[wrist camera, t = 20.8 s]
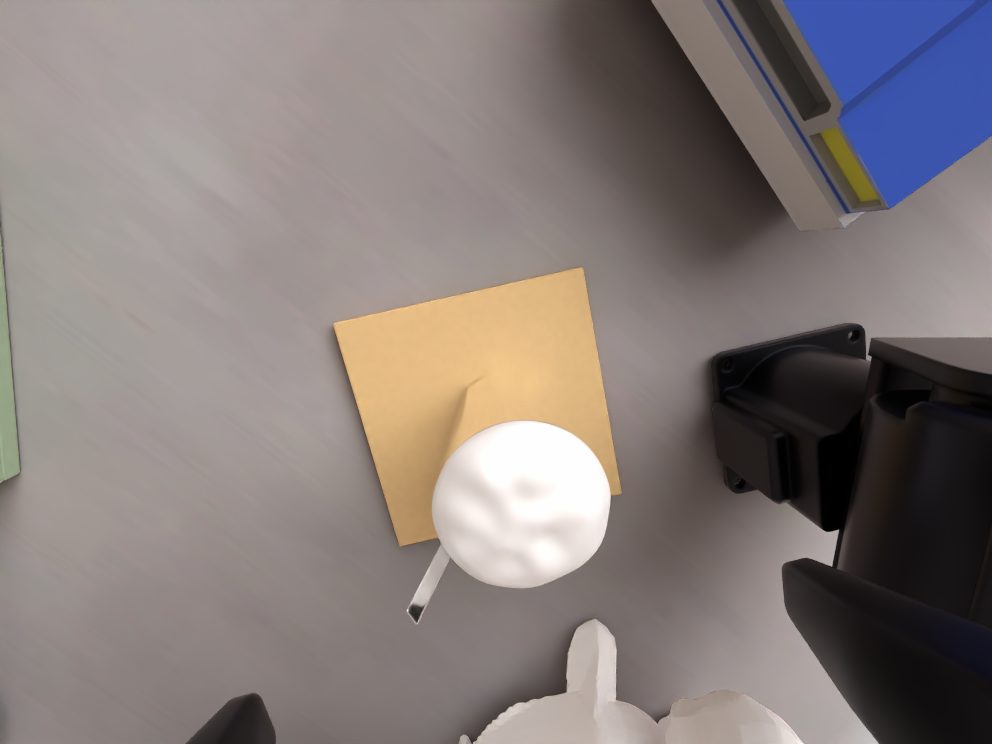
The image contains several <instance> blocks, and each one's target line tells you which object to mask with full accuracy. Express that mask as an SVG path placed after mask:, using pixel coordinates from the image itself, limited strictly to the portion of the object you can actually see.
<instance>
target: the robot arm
mask: <svg viewBox="0 0 992 744" xmlns="http://www.w3.org/2000/svg"><path fill="white" fill-rule="evenodd" d="M851 331H852V336H851V338H850V339H848V334H849V333H850V332H851ZM868 355H869V356H872V359H871V361H867V360H866V342H865V330H864V328H863V327H862V326H861V325H858V324H853V323H844V324H840V325H836V326H831V327H827V328H823V329H818V330H814V331H810V332H806V333H801V334H797V335H793V336H788V337H784V338H780V339H775V340H771V341H767V342H762V343H758V344H754V345H750V346H745V347H741V348H737V349H732V350H728V351H724V352H720V353H718V354H716V355H715V356H714V358H713V360H712V363H711V368H712V377H713V386H714V394H715V403H714V405H713V407H712V415H713V423H714V432H715V440H716V449H717V457H718V459H719V460H720V461H722V464H723V473H724V482H725V485H726V486H727V487H728V488H729V489H730V490H731V491H732V492H734V493H744V492H748V491H753V490H757V489H758V490H759V491H760V492H762V493H763V494H764V495H766V496H767V497H768V498H769V499H771V500H772V501H774V502H775V503H777V504H782V503H788V504H789V505H791V506H792V507H793V508H795V509H796V510H797V511H799V512H800V513H801V514H803V515H804V516H805V517H807V518H808V519H809V520H811V521H812V522H813V523H815V524H816V525H817V526H819V527H820V528H821V529H823V530H824V531H826V532H831V531H835V530H839V534H838V539H837V545H836V550H835V555H834V560H833V566H832V567H831V566H828V565H825V564H823V563H820V562H818V561H815V560H812V559H809V558H802V559H798V560H794V561H790V562H786V563H785V564H784V565H783V566H782V581H783V592H784V603H785V607H786V610H787V613H788V615H789V617H790V619H791V620H792V622H793V623H794V625H795V626H796V628H797V629H798V631H799V632H800V634H801V635H802V637H803V638H804V640H805V641H806V642H807V644H808V645H809V647H810V648H811V650H812V651H813V653H814V654H815V656H816V657H817V659H818V660H819V662H820V663H821V665H822V666H823V668H824V669H825V671H826V672H827V674H828V675H829V677H830V678H831V680H832V681H833V683H834V684H835V686H836V687H837V688H838V690H839V691H840V693H841V694H842V696H843V697H844V699H845V700H846V701H847V703H848V704H849V706H850V707H851V709H852V710H853V711H854V713H855V714H856V715H857V716H858V718H859V719H860V720H861V722H862V723H863V724H864V725H865V727H866V728H867V729H868V730H869V732H870V733H871V734H872V735H873V737H874V738H875V739H876V740H877V742H878V743H879V744H992V338H871V342H870V348H869V353H868ZM727 359H728V366H727V367H726V368H724V369H722V363H723V362H724V361H725V360H727ZM738 478H741V479H740V482H739V483H738V484H735V481H736V480H737V479H738ZM186 744H276V735H275V730H274V727H273V725H272V722H271V720H270V717H269V715H268V712H267V710H266V708H265V705H264V703H263V700H262V698H261V697H260V696H259V695H258V694H256V693H252V694H248V695H243V696H239V697H235V698H233V699H231V700H229V701H228V702H227V703H226V704H225V705H224V706H223V707H222V708H221V709H220V710H219V711H218V712H217V713H216V714H215V715H214V716H213V717H212V718H211V719H210V720H209V721H208V722H207V723H206V724H205V725H204V726H203V727H202V728H201V729H200V730H199V731H198V732H197V733H196V734H195V735H194V736H193V737H192V738H191V739H190V740H189V741H188V742H187V743H186Z"/></svg>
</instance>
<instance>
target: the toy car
mask: <svg viewBox="0 0 992 744" xmlns="http://www.w3.org/2000/svg"><path fill="white" fill-rule="evenodd" d="M651 1H652V3H653V4H654V6H655V7H656V9H657V11H658V12H659V14H660V15H661V17H662V18H663V20H664V21H665V23H666V25H667V26H668V28H669V29H670V31H671V32H672V34H673V35H674V37H675V38H676V40H677V42H678V43H679V45H680V46H681V48H682V49H683V51H684V52H685V54H686V56H687V57H688V59H689V60H690V62H691V63H692V65H693V66H694V68H695V69H696V71H697V73H698V74H699V76H700V77H701V79H702V80H703V82H704V83H705V85H706V87H707V88H708V90H709V91H710V93H711V94H712V96H713V97H714V99H715V100H716V102H717V104H718V105H719V107H720V108H721V110H722V111H723V113H724V114H725V116H726V117H727V119H728V121H729V122H730V124H731V125H732V127H733V128H734V130H735V131H736V133H737V135H738V136H739V138H740V139H741V141H742V142H743V144H744V145H745V147H746V148H747V150H748V152H749V153H750V155H751V156H752V158H753V159H754V161H755V162H756V164H757V166H758V167H759V169H760V170H761V172H762V173H763V175H764V176H765V178H766V179H767V181H768V183H769V184H770V186H771V187H772V189H773V190H774V192H775V193H776V195H777V197H778V198H779V200H780V201H781V203H782V204H783V206H784V207H785V209H786V210H787V212H788V214H789V215H790V217H791V218H792V220H793V221H794V223H795V224H796V226H797V228H798V229H799V231H812V230H827V229H843V228H845V227H846V226H848V225H849V224H850V223H852V222H853V221H854V220H855V219H857V218H858V217H859V216H861V215H862V214H863V213H864V212H867V211H877V210H886V209H890V208H892V207H893V206H895V205H896V204H897V203H899V202H900V201H902V200H903V199H904V198H906V197H907V196H908V195H910V194H911V193H913V192H914V191H915V190H917V189H918V188H920V187H921V186H922V185H924V184H925V183H927V182H928V181H929V180H931V179H932V178H934V177H935V176H936V175H938V174H939V173H941V172H942V171H943V170H945V169H946V168H947V167H949V166H950V165H952V164H953V163H954V162H956V161H957V160H959V159H960V158H961V157H963V156H964V155H966V154H967V153H968V152H970V151H971V150H973V149H974V148H975V147H977V146H978V145H980V144H981V143H982V142H984V141H985V140H986V139H988V138H989V137H991V136H992V0H651Z"/></svg>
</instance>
